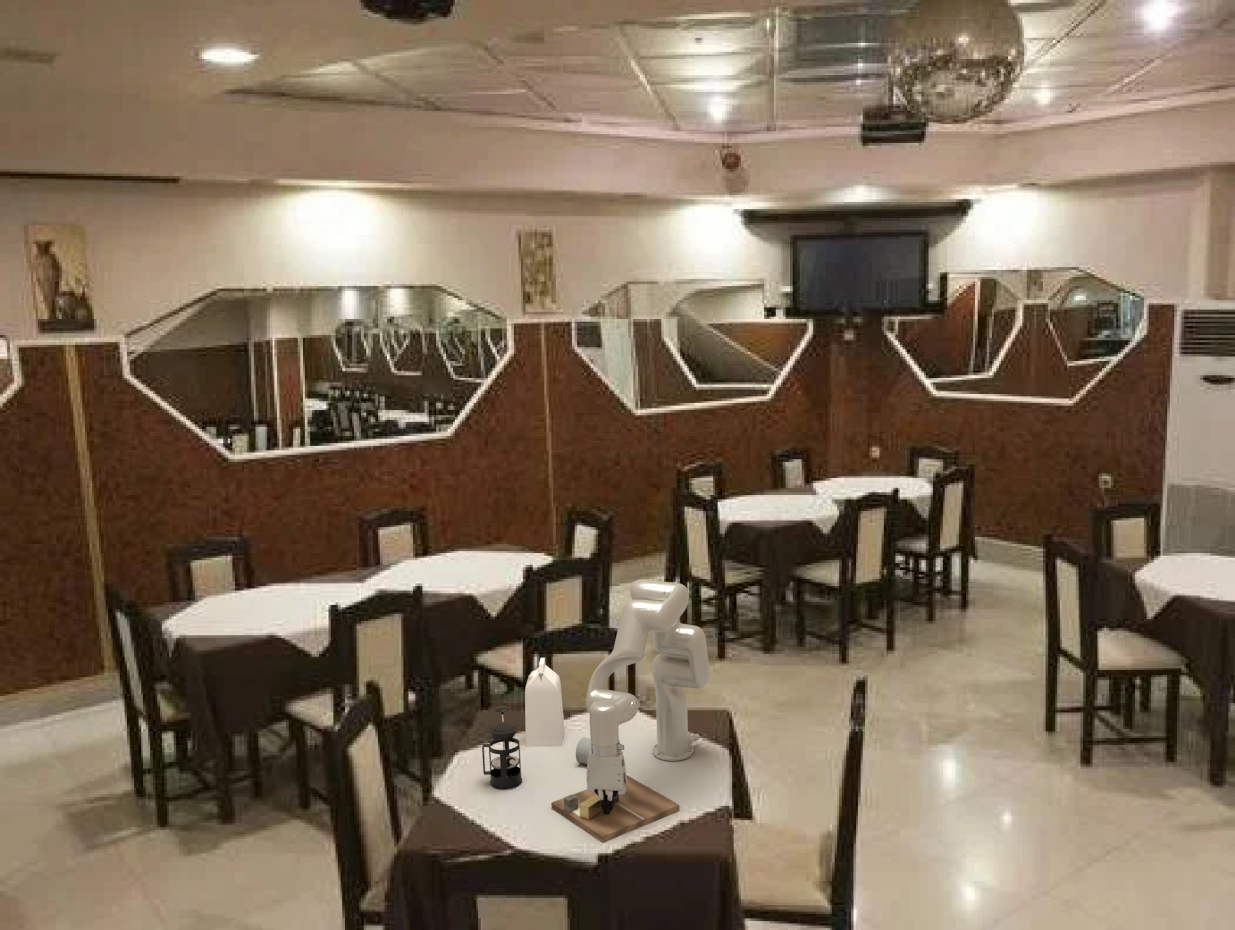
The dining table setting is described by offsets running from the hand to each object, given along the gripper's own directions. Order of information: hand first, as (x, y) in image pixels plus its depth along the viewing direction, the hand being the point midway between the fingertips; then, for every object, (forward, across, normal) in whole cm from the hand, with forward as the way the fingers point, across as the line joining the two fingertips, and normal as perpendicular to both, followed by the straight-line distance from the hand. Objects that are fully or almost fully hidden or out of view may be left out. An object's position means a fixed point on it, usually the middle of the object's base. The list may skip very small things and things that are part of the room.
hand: (607, 811), depth 274 cm
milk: (+3, +34, -47) cm, 58 cm away
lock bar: (+1, +3, -3) cm, 4 cm away
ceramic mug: (+3, +14, -34) cm, 37 cm away
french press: (+3, +36, -16) cm, 39 cm away
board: (+3, 0, -6) cm, 7 cm away
